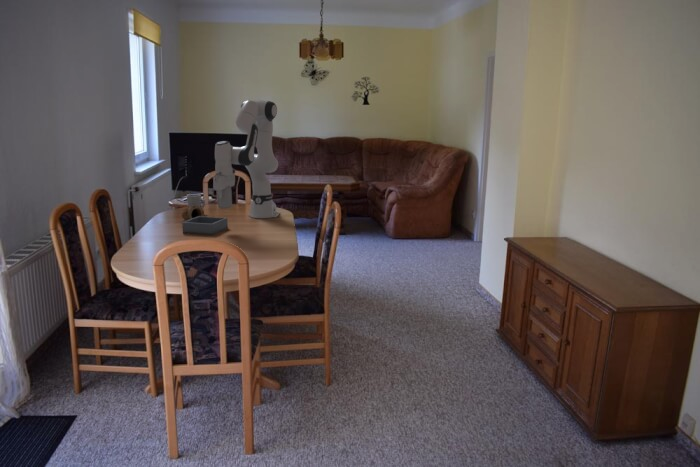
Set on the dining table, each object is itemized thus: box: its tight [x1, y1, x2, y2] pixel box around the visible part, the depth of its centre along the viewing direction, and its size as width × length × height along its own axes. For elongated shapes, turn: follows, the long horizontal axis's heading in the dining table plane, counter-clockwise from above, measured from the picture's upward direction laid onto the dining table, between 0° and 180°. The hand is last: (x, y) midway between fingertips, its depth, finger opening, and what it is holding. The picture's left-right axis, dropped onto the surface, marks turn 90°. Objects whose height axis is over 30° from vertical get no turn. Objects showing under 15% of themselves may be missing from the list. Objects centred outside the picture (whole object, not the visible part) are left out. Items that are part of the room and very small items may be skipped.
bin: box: [181, 215, 229, 236], centre depth 311 cm, size 18×18×6 cm
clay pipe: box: [181, 206, 205, 222], centre depth 336 cm, size 19×11×15 cm
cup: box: [186, 193, 206, 208], centre depth 359 cm, size 10×9×12 cm
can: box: [217, 186, 233, 210], centre depth 307 cm, size 8×8×12 cm
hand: (224, 196), depth 307 cm, fingers closed on can, 7 cm apart
